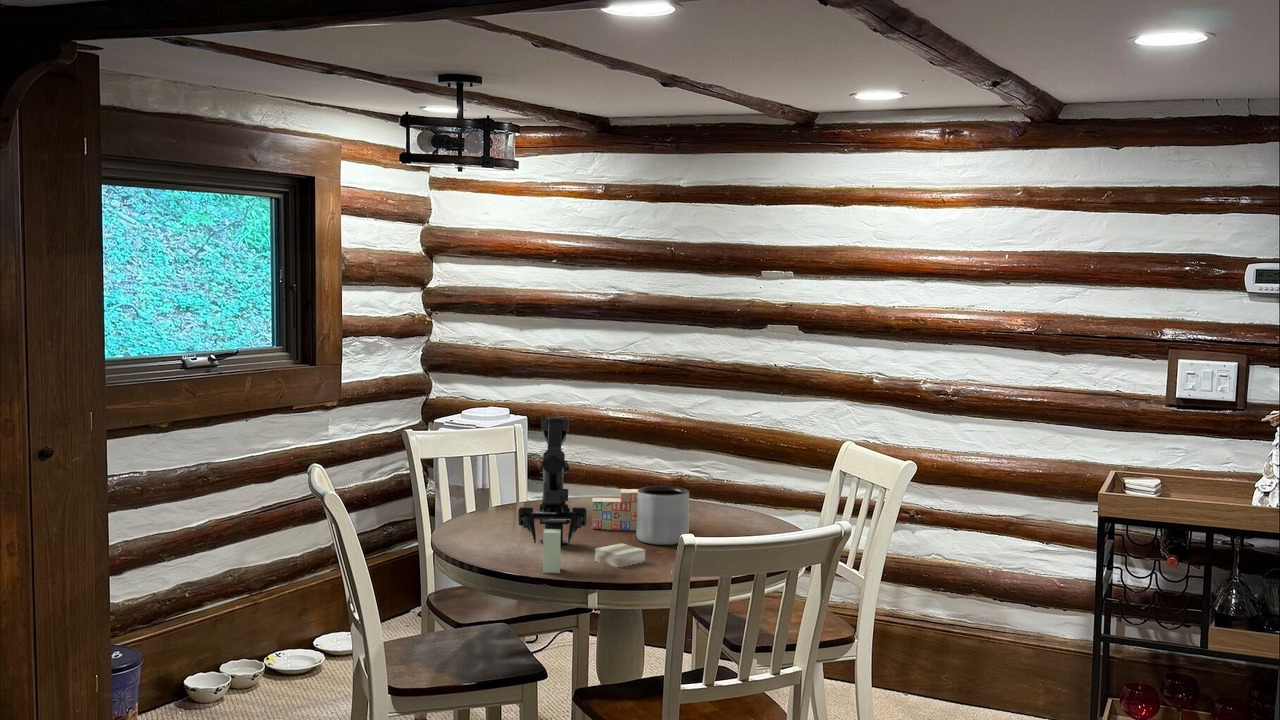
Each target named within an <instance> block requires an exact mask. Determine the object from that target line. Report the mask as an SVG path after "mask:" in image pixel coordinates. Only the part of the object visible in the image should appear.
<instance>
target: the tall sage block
mask: <svg viewBox="0 0 1280 720" xmlns="http://www.w3.org/2000/svg"><path fill="white" fill-rule="evenodd" d="M542 540H543V543H542V573H543V574H560V573H561V545H560V541H561V529H544V528H543V536H542Z"/></svg>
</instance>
